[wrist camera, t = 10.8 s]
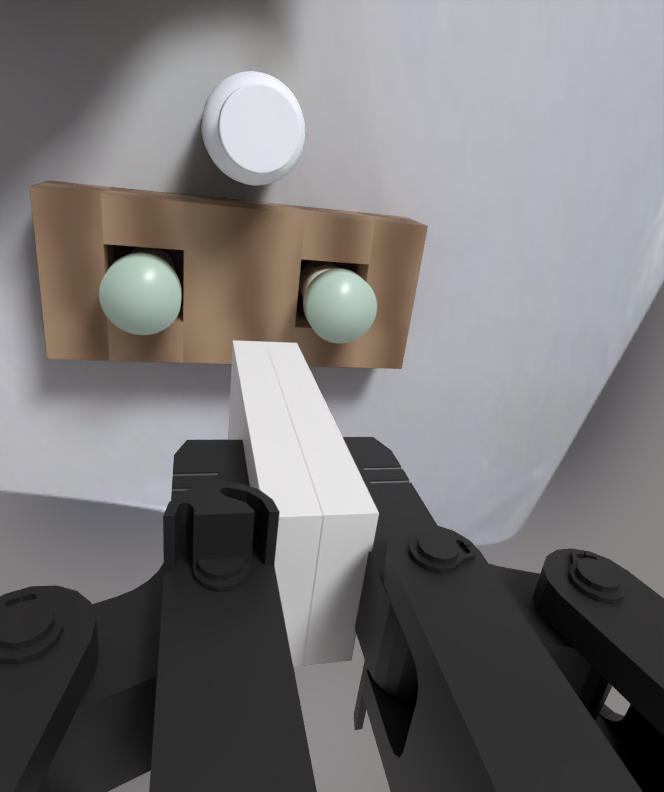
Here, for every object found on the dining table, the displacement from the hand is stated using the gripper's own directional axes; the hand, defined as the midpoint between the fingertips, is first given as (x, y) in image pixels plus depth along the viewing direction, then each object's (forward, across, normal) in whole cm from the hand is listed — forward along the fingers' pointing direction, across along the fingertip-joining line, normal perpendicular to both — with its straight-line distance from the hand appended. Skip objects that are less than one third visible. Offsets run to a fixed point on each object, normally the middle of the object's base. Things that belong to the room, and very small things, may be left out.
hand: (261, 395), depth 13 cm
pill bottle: (+35, +2, +6) cm, 35 cm away
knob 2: (+34, +9, -5) cm, 35 cm away
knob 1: (+34, -5, -5) cm, 35 cm away
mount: (+34, +2, -5) cm, 35 cm away
